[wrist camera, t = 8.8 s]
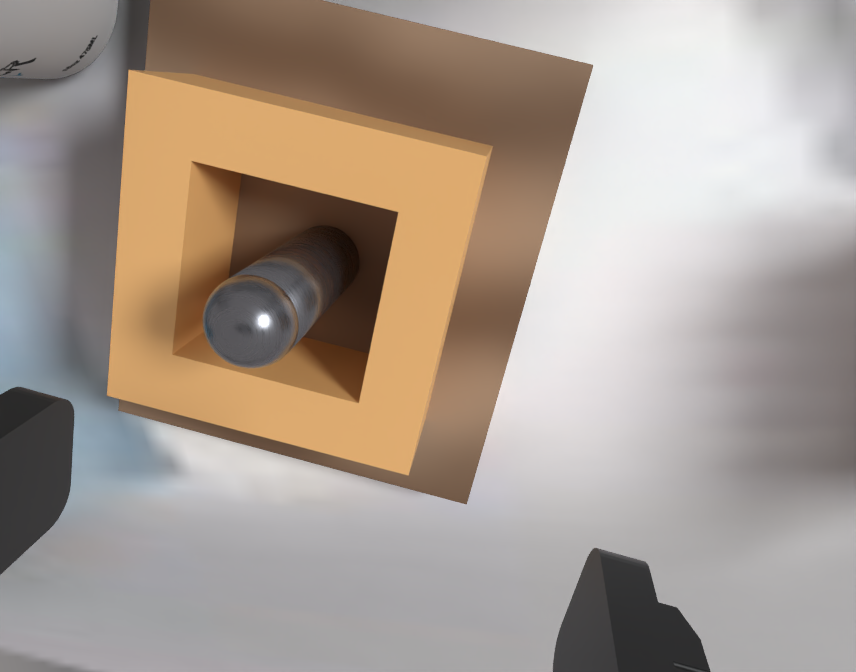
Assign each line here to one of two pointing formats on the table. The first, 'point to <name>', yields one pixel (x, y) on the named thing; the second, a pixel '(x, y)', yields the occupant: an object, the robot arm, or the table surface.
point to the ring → (212, 248)
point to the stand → (369, 225)
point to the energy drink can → (53, 36)
